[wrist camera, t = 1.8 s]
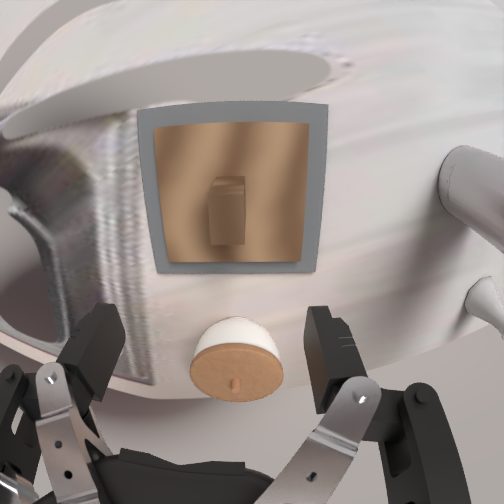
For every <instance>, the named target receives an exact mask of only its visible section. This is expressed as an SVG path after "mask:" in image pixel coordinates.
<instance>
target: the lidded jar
mask: <svg viewBox="0 0 504 504" xmlns="http://www.w3.org/2000/svg"><path fill="white" fill-rule="evenodd" d="M190 377H191V380H192V382H193V383H194V385H195V386H196V387H197V388H198V389H199V390H201V391H202V392H203V393H205V394H207V395H209V396H211V397H213V398H217V399H220V400H224V401H231V402H247V401H253V400H257V399H261V398H264V397H266V396H268V395H269V394H272V393H273V392H274V391H275V390H277V388H278V387H279V386H280V385H281V383H282V380H283V369H282V365H281V359H280V354H279V351H278V347H277V345H276V342H275V340H274V339H273V337H272V336H271V334H270V333H269V332H268V331H267V330H266V329H265V328H264V327H263V326H261V325H260V324H258V323H256V322H254V321H252V320H250V319H247V318H244V317H231V318H227V319H225V320H222V321H219V322H217V323H215V324H214V325H212V326H211V327H209V328H208V329H207V330H206V331H205V333H204V334H203V335H202V337H201V338H200V340H199V342H198V344H197V347H196V349H195V352H194V357H193V361H192V363H191V367H190Z"/></svg>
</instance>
